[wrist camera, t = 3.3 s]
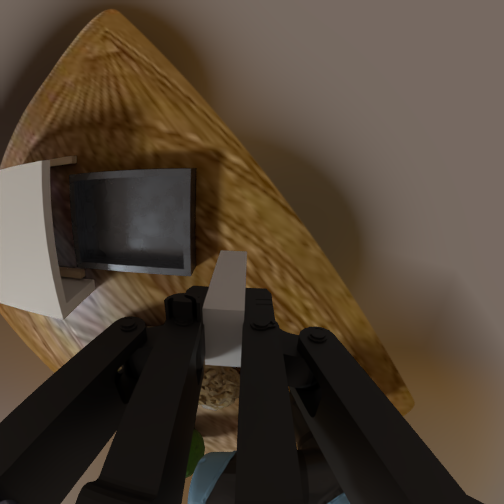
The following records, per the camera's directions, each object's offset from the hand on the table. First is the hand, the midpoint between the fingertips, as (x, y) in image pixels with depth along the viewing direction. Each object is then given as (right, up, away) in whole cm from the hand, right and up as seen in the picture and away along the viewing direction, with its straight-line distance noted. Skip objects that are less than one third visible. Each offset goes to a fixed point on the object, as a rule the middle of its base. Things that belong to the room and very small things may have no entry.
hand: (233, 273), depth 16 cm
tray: (-14, +6, +16) cm, 21 cm away
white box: (-29, +5, +16) cm, 33 cm away
